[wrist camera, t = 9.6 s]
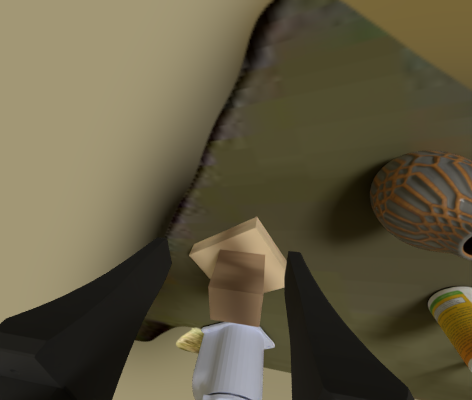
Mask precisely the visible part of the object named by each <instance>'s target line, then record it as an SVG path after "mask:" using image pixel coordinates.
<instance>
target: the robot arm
mask: <svg viewBox="0 0 472 400" xmlns="http://www.w3.org/2000/svg"><path fill="white" fill-rule="evenodd" d="M171 264H172V262H171V257H170V252H169V246H168V241H167V238H156V239H155V240H153V241H152V242H151V243H149V244H148V245H146V246H145V247H144V248H142V249H141V250H140V251H138V252H137V253H135V254H134V255H133V256H131V257H130V258H128V259H127V260H125V261H124V262H122V263H121V264H119V265H118V266H116V267H115V268H114V269H112V270H111V271H109V272H107V273H106V274H104V275H102V276H101V277H99V278H97V279H95V280H94V281H92V282H90V283H88V284H86V285H84V286H82V287H80V288H78V289H76V290H74V291H72V292H70V293H68V294H66V295H64V296H62V297H60V298H58V299H55V300H53V301H51V302H48V303H46V304H44V305H41V306H39V307H36V308H34V309H31V310H28V311H26V312H23V313H20V314H18V315H15V316H12V317H9V318H7V319H5V320H4V321H3V322H2V323H1V324H0V400H112V398H113V395H114V393H115V390H116V387H117V384H118V381H119V378H120V376H121V373H122V370H123V367H124V365H125V363H126V360H127V357H128V355H129V352H130V350H131V348H132V345H133V343H134V340H135V338H136V336H137V333H138V331H139V329H140V326H141V324H142V322H143V320H144V318H145V316H146V314H147V312H148V310H149V308H150V307H151V305H152V303H153V301H154V299H155V298H156V296H157V294H158V292H159V290H160V288H161V287H162V285H163V283H164V281H165V279H166V277H167V274H168V272H169V269H170V267H171ZM284 288H285V302H286V310H287V318H288V326H289V334H290V346H291V375H292V400H414V398H413V396H412V394H411V392H410V390H409V389H408V387H407V386H406V385H405V384H404V383H402V382H401V381H400V380H399V379H398V378H397V377H396V376H395V375H394V374H393V373H392V372H391V371H389V370H388V369H387V368H386V367H385V366H384V365H383V364H382V363H381V362H380V361H379V360H378V359H377V358H376V357H375V356H374V355H373V354H372V353H371V352H370V351H369V350H368V349H367V348H366V346H365V345H364V344H363V343H362V342H361V341H360V340H359V339H358V338H357V337H356V335H355V334H354V333H353V332H352V331H351V330H350V329H349V327H348V326H347V325H346V324H345V323H344V321H343V320H342V319H341V318H340V316H339V315H338V314H337V312H336V311H335V310H334V308H333V307H332V306H331V304H330V303H329V302H328V300H327V299H326V297H325V296H324V294H323V293H322V291H321V290H320V288H319V286H318V285H317V283H316V281H315V280H314V278H313V276H312V274H311V273H310V271H309V269H308V267H307V265H306V263H305V261H304V259H303V257H302V254H301V253H300V252H292V251H288V258H287V264H286V270H285V276H284ZM201 331H202V332H203V333H204V336H203V340H202V343H201V347H200V351H199V354H198V358H197V362H196V365H195V369H194V374H193V380H192V381H193V383H192V387H193V395H194V398H195V400H262V388H263V387H262V386H263V358H264V349H269V348H274V347H275V344H274V343H273V341H272V340H271V339H270V338H269V337H268V336H267V335H266V333H265V332H264V331H263V330H262V329H261V328H260V326H259V327H254V326H248V325H242V324H236V323H230V322H222V323H218V324H214V325H210V326H206V327H203V328H202V329H201Z"/></svg>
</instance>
